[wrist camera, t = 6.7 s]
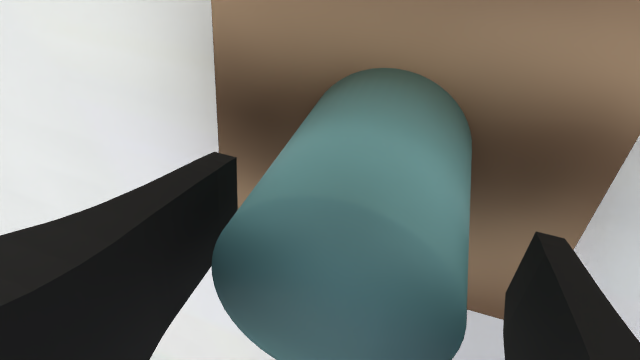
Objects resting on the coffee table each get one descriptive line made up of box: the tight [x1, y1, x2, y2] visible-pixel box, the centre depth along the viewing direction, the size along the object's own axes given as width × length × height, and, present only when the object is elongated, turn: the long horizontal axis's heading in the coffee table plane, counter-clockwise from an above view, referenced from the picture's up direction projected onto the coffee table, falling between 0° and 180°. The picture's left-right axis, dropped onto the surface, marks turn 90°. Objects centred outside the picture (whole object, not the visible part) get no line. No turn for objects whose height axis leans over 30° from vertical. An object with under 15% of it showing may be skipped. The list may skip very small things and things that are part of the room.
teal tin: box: [212, 68, 472, 360], centre depth 11 cm, size 5×5×6 cm
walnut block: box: [211, 0, 640, 320], centre depth 16 cm, size 12×12×4 cm
